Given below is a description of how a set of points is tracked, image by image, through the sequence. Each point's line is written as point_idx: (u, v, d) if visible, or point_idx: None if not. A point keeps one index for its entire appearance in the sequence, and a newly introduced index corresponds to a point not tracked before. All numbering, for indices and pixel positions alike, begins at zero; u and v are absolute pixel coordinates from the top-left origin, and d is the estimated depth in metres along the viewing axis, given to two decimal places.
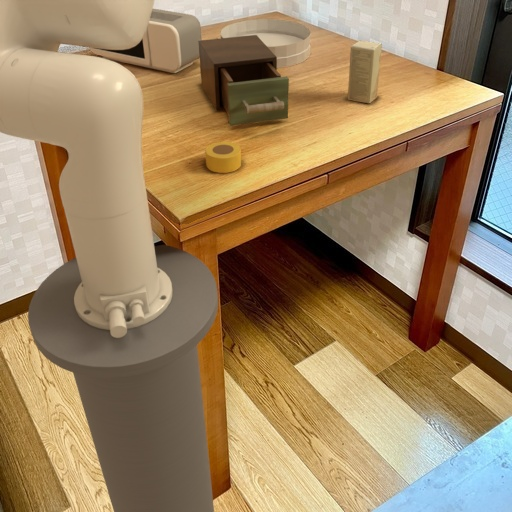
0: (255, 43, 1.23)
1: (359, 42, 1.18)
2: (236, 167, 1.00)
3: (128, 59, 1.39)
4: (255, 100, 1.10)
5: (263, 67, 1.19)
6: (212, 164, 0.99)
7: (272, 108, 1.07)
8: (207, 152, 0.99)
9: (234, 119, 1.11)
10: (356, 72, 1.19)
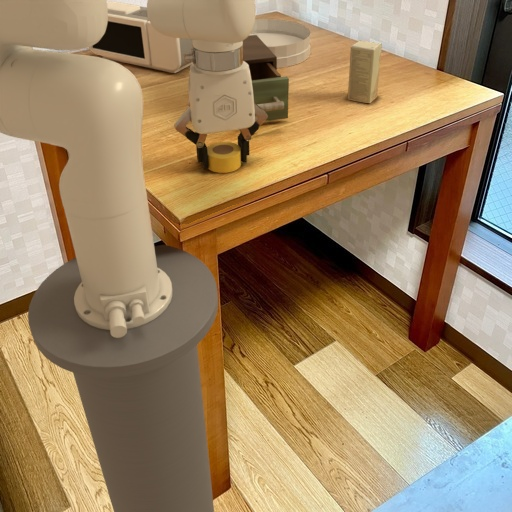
0: (255, 43, 1.23)
1: (359, 42, 1.18)
2: (236, 167, 1.00)
3: (128, 59, 1.39)
4: (255, 100, 1.10)
5: (263, 67, 1.19)
6: (212, 164, 0.99)
7: (272, 108, 1.07)
8: None
9: None
10: (356, 72, 1.19)
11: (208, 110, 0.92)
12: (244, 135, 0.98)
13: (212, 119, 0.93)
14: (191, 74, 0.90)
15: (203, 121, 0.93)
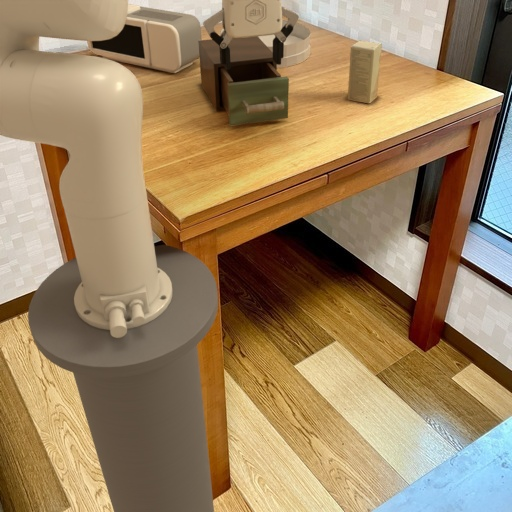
0: (255, 43, 1.23)
1: (359, 42, 1.18)
2: None
3: (128, 59, 1.39)
4: (255, 100, 1.10)
5: (263, 67, 1.19)
6: None
7: (272, 108, 1.07)
8: None
9: (234, 119, 1.11)
10: (356, 72, 1.19)
11: (241, 14, 1.02)
12: (279, 38, 1.08)
13: (244, 23, 1.03)
14: None
15: (236, 25, 1.03)
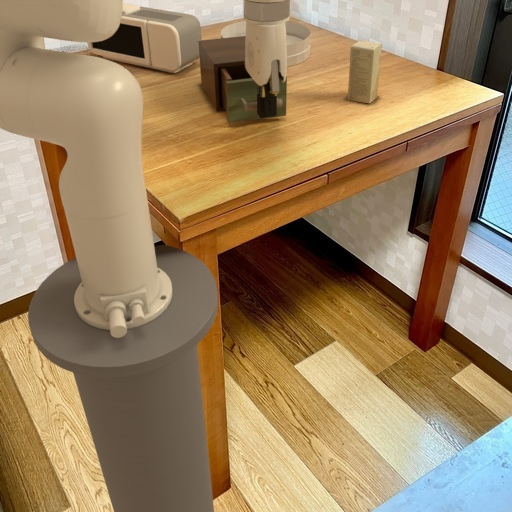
0: None
1: (359, 42, 1.18)
2: None
3: (128, 59, 1.39)
4: (253, 98, 1.11)
5: None
6: None
7: None
8: None
9: (233, 116, 1.12)
10: (356, 72, 1.19)
11: (247, 50, 1.02)
12: (260, 89, 1.03)
13: (247, 60, 1.02)
14: None
15: (246, 58, 1.04)
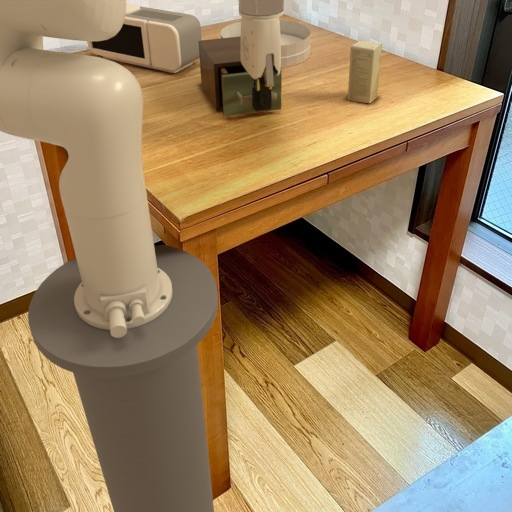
0: None
1: (359, 42, 1.18)
2: None
3: (128, 59, 1.39)
4: (248, 92, 1.13)
5: None
6: None
7: None
8: None
9: (229, 110, 1.14)
10: (356, 72, 1.19)
11: (242, 44, 1.04)
12: (255, 83, 1.05)
13: (243, 54, 1.05)
14: None
15: (241, 52, 1.06)
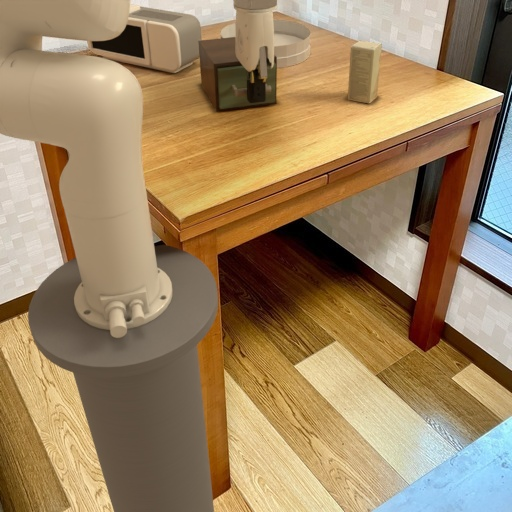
0: None
1: (359, 42, 1.18)
2: None
3: (128, 59, 1.39)
4: (243, 85, 1.16)
5: None
6: None
7: None
8: None
9: (224, 102, 1.17)
10: (356, 72, 1.19)
11: (237, 37, 1.07)
12: (250, 75, 1.08)
13: (237, 47, 1.08)
14: None
15: (236, 46, 1.09)
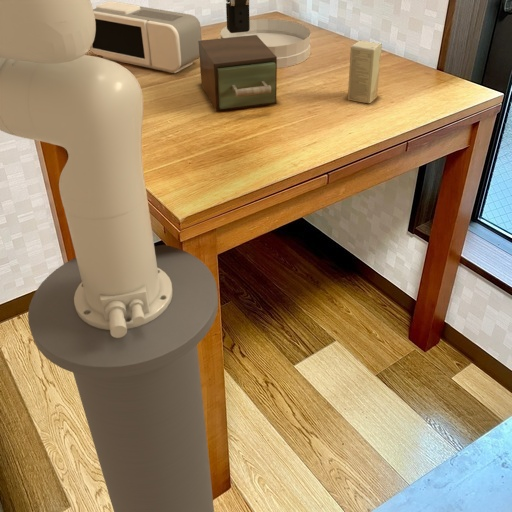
0: (255, 43, 1.23)
1: (359, 42, 1.18)
2: None
3: (128, 59, 1.39)
4: (243, 85, 1.16)
5: None
6: None
7: (260, 92, 1.13)
8: None
9: (224, 102, 1.17)
10: (356, 72, 1.19)
11: None
12: None
13: None
14: None
15: None
